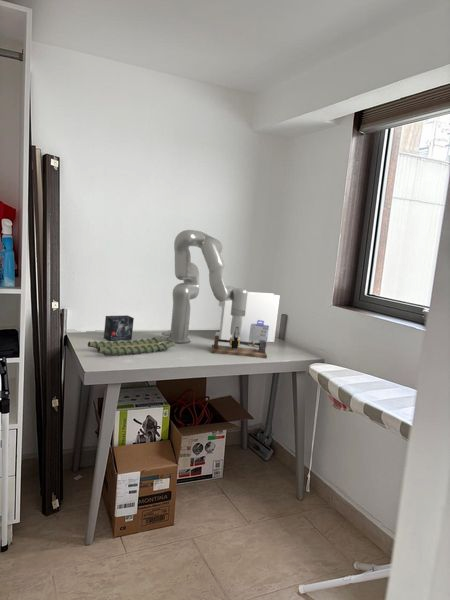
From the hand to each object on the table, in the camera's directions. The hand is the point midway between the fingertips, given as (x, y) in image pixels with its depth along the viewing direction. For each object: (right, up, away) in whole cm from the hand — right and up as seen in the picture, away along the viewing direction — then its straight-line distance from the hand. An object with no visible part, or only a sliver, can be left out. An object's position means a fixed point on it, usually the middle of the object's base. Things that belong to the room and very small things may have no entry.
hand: (234, 347), depth 241 cm
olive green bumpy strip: (-49, 0, -18) cm, 52 cm away
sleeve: (0, +1, 0) cm, 1 cm away
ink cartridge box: (+13, -2, +20) cm, 24 cm away
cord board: (+2, -3, +1) cm, 4 cm away
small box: (-61, +4, +1) cm, 61 cm away
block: (+7, +1, +33) cm, 33 cm away
